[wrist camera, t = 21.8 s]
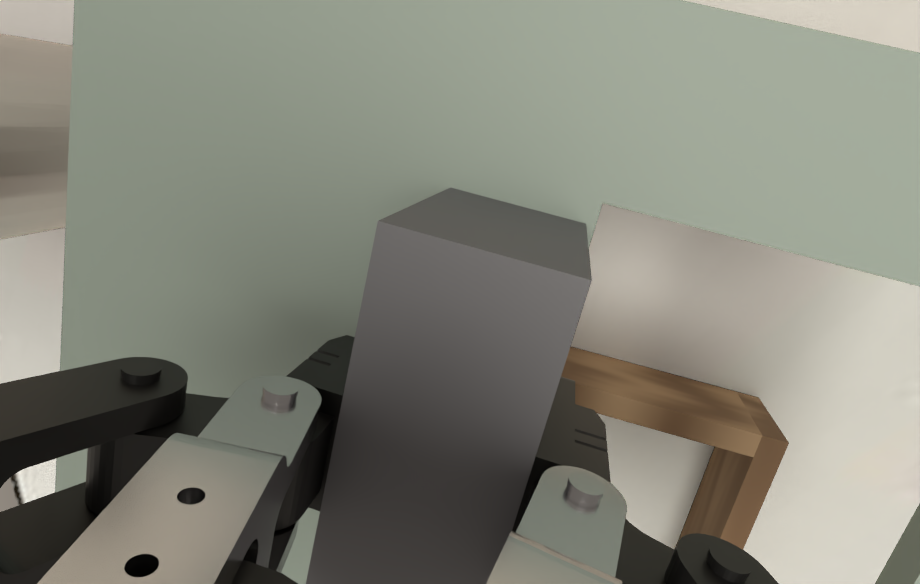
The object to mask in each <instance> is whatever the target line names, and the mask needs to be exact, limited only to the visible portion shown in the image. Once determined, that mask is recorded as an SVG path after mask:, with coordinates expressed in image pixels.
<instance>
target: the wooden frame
mask: <svg viewBox="0 0 920 584" xmlns="http://www.w3.org/2000/svg"><path fill="white" fill-rule="evenodd" d="M561 377H564V378H567V379H571V380H574V381H575V404H576V405H579V406H583V407H586V408H589V409H593V410H595V412H596V413H599V414H602V415H606V416H609V417H613V418H616V419H620V420H623V421H627V422H630V423H634V424H637V425H641V426H644V427H648V428H651V429H655V430H658V431H662V432H665V433H669V434H673V435H676V436H680V437H683V438H687V439H690V440H694V441H697V442H701V443H704V444H708V445H711V446H715V448H714V450H713V453H712V455H711V458H710V461H709V463H708V466H707V468H706V471H705V473H704V476H703V479H702V481H701V484H700V486H699V489H698V491H697V494H696V497H695V499H694V502H693V504H692V507H691V509H690V512H689V514H688V517H687V520H686V522H685V525H684V527H683V530H682V532H681V535H680V538H679V540H680V539H681V538H682V537H683V536H685V535H687V534H693V533H700V534H707V535H711V536H715V537H718V538H721V539H723V540H725V541H728V542H730V543H732V544H734V545H735V546H737V547H739V548H740V549H742V550H743V548H744V546H745V544H746V541H747V539H748V537H749V534H750V532H751V530H752V527H753V525H754V523H755V520H756V518H757V516H758V513H759V511H760V509H761V506H762V504H763V502H764V499H765V497H766V495H767V492H768V490H769V488H770V486H771V483H772V481H773V479H774V476H775V474H776V472H777V469H778V467H779V465H780V462H781V460H782V458H783V455H784V453H785V451H786V448H787V446H788V444H789V442H788V441H787V439H786V438H785V436H784V435H783V433H782V432H781V430H780V429H779V427H778V426H777V424H776V423H775V421H774V420H773V418H772V417H771V415H770V414H769V412H768V411H767V409H766V408H765V406H764V405H763V403H762V402H761V400H760V399H759V398H758V397H754V396H751V395H747V394H743V393H740V392H736V391H732V390H729V389H725V388H721V387H717V386H714V385H710V384H706V383H703V382H699V381H695V380H692V379H688V378H684V377H681V376H677V375H673V374H670V373H666V372H662V371H659V370H655V369H651V368H648V367H644V366H640V365H636V364H633V363H629V362H625V361H622V360H618V359H614V358H611V357H607V356H603V355H600V354H596V353H592V352H589V351H585V350H581V349H578V348H574V347H570V350H569V353H568V356H567V359H566V362H565V365H564V369H563V372H562V375H561ZM679 540H678V541H679ZM677 544H678V543H677ZM676 546H677V545H676Z"/></svg>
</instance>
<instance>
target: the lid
mask: <svg viewBox="0 0 920 584" xmlns="http://www.w3.org/2000/svg"><path fill="white" fill-rule="evenodd" d="M603 203H604V204H608V205H612V206H615V207H619V208H623V209H627V210H631V211H634V212H638V213H642V214H646V215H650V216H653V217H657V218H661V219H665V220H669V221H672V222H676V223H680V224H684V225H688V226H692V227H695V228H699V229H703V230H707V231H711V232H714V233H718V234H722V235H726V236H730V237H733V238H737V239H741V240H745V241H749V242H752V243H756V244H760V245H764V246H768V247H771V248H775V249H779V250H783V251H787V252H790V253H794V254H798V255H802V256H806V257H809V258H813V259H817V260H821V261H825V262H829V263H832V264H836V265H840V266H844V267H848V268H851V269H855V270H859V271H863V272H867V273H870V274H874V275H878V276H882V277H886V278H889V279H893V280H897V281H901V282H905V283H908V284H912V285H916V286H920V53H918V52H913V51H909V50H904V49H900V48H895V47H891V46H886V45H882V44H877V43H873V42H868V41H864V40H859V39H855V38H850V37H846V36H841V35H837V34H832V33H828V32H823V31H818V30H814V29H809V28H805V27H800V26H796V25H791V24H787V23H782V22H778V21H773V20H769V19H764V18H760V17H755V16H751V15H746V14H742V13H737V12H733V11H728V10H723V9H719V8H714V7H710V6H705V5H701V4H696V3H692V2H687V1H683V0H74V26H73V51H72V77H71V102H70V128H69V153H68V179H67V204H66V230H65V255H64V281H63V306H62V332H61V357H60V371H64V370H68V369H73V368H78V367H83V366H87V365H92V364H97V363H102V362H106V361H111V360H116V359H121V358H128V357H152V358H159V359H163V360H167V361H170V362H173V363H175V364H177V365H179V366H181V367H182V368H183V369H184V370H185V371H186V372H187V375H188V382H187V391H186V393H189V394H197V395H205V396H213V397H223V398H230V397H231V395H232V394H233V393H234V392H235V390H236V389H237V388H238V387H239V386H240V385H241V384H242V383H243V382H245V381H247V380H249V379H252V378H256V377H261V376H287V375H288V374H289V373H291V372H292V371H293V370H294V369H295V368H296V367H298V366H299V365H300V364H301V363H302V362H304V361H305V360H306V359H308V358H309V356H311V355H312V354H313V353H314V352H315V351H318V349H319V348H320V347H321V346H322V345H324V344H325V343H326V342H327V341H328V340H331V339H335V338H338V337H342V336H345V335H349V336H352V337H355V338H354V343H353V348H352V353H351V358H350V363H349V368H348V373H347V378H346V384H345V389H344V394H343V399H342V404H341V409H340V414H339V419H338V424H337V429H336V434H335V439H334V444H333V449H332V454H331V459H330V464H329V469H328V474H327V479H326V484H325V489H324V494H323V499H322V504H321V509H320V511H317V510H314V509H311V508H307V510H306V511H305V513H304V514H303V516H302V517H301V518H300V519H299V524H298V529H297V534H296V537H295V540H294V542H293V545H292V547H291V550H290V552H289V555H288V557H287V560H286V562H285V565H284V567H283V570H282V572H281V573H282V574H284V575H286V576H287V577H289V578H290V579H292V580H293V581H295V582H296V583H298V584H486V583H487V581H488V579H489V576H490V574H491V572H492V570H493V568H494V566H495V564H496V562H497V560H498V557H499V555H500V553H501V551H502V549H503V547H504V545H505V543H506V541H507V538H508V536H509V535H510V533H511V531H512V529H513V526H514V523H515V520H516V516H517V513H518V510H519V507H520V504H521V501H522V497H523V494H524V491H525V488H526V485H527V482H528V479H529V475H530V472H531V469H532V466H533V463H534V460H535V457H536V453H537V450H538V447H539V444H540V441H541V438H542V435H543V431H544V428H545V425H546V422H547V419H548V416H549V413H550V409H551V406H552V403H553V400H554V397H555V394H556V391H557V387H558V384H559V381H560V378H561V375H562V372H563V369H564V365H565V362H566V359H567V356H568V353H569V350H570V346H571V343H572V340H573V337H574V334H575V331H576V328H577V324H578V321H579V318H580V315H581V312H582V309H583V306H584V302H585V299H586V296H587V293H588V290H589V287H590V284H591V269H590V258H589V246H590V242H591V239H592V236H593V233H594V229H595V226H596V223H597V220H598V217H599V213H600V210H601V207H602V204H603ZM87 452H88V448H87V449H84V450H81V451H78V452H74V453H71V454H68V455H65V456H62V457H59V458H57V459H56V485H55V492H58V491H61V490H64V489H67V488H69V487H72V486H75V485H78V484H80V483H83V482H86V470H87ZM875 584H920V504H919V506H918V507H917V509H916V511H915V513H914V515H913V516H912V518H911V520H910V522H909V524H908V525H907V527H906V529H905V531H904V533H903V534H902V536H901V538H900V540H899V542H898V543H897V545H896V547H895V549H894V551H893V552H892V554H891V556H890V558H889V560H888V561H887V563H886V565H885V567H884V569H883V570H882V572H881V574H880V576H879V578H878V579H877V581H876V583H875Z"/></svg>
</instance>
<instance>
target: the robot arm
mask: <svg viewBox="0 0 920 584" xmlns="http://www.w3.org/2000/svg"><path fill="white" fill-rule="evenodd" d="M72 51H73V46H72V45H66V44H60V43H54V42H48V41H42V40H36V39H30V38H24V37H18V36H12V35H6V34H0V240H1V239H7V238H12V237H17V236H23V235H28V234H33V233H39V232H44V231H49V230H55V229H60V228H65V227H66V204H67V179H68V153H69V128H70V102H71V77H72ZM354 338H355V337H352V336H349V335H345V336H342V337H338V338H335V339H331V340H328V341H327V342H326V343H325V344H324V345H322V346H321V347H320V348H319V349H318V351H315V352H314V353H313V354H312V355H311V356H309V358H308V359H306V360H305V361H304V362H302V363H301V364H300V365H299V366H298V367H296V368H295V369H294V370H293V371H292V372H291V373H289V374H288V375H287V376H261V377H256V378H252V379H249V380H247V381H245V382H243V383H242V384H241V385H240V386H239V387H238V388H237V389H236V390H235V392H234V393H233V394H232V395H231V397H230V398H223V397H213V396H205V395H197V394H189V393H186V391H187V382H188V375H187V372H186V371H185V370H184V369H183V368H182V367H181V366H179V365H177V364H175V363H173V362H170V361H167V360H163V359H159V358H152V357H128V358H121V359H116V360H111V361H106V362H102V363H97V364H92V365H87V366H83V367H78V368H73V369H68V370H64V371H59V372H54V373H49V374H45V375H40V376H35V377H30V378H26V379H21V380H16V381H11V382H7V383H2V384H0V488H1V486H2V485H3V484H4V482H6V481H7V479H9V478H10V477H11V476H12V475H14V474H15V473H17V472H18V471H20V470H22V469H25V468H27V467H30V466H33V465H36V464H40V463H43V462H46V461H49V460H52V459H55V458H59V457H62V456H65V455H68V454H71V453H74V452H78V451H81V450H84V449H87V448H88V452H87V470H86V482H83V483H80V484H78V485H75V486H72V487H69V488H67V489H64V490H61V491H58V492H55V493H53V494H50V495H47V496H44V497H41V498H39V499H36V500H33V501H30V502H27V503H25V504H22V505H19V506H16V507H14V508H11V509H8V510H5V511H2V512H0V584H298V583H296V582H295V581H293V580H292V579H290V578H289V577H287V576H286V575H284V574H282V573H281V572H282V570H283V567H284V565H285V562H286V560H287V557H288V555H289V552H290V550H291V547H292V545H293V542H294V540H295V537H296V534H297V529H298V524H299V519H300V518H301V517H302V516H303V514H304V513H305V511H306V510H307V508H311V509H314V510H317V511H320V509H321V504H322V499H323V494H324V489H325V484H326V479H327V474H328V469H329V464H330V459H331V454H332V449H333V444H334V439H335V434H336V429H337V424H338V419H339V414H340V409H341V404H342V399H343V394H344V389H345V384H346V378H347V373H348V368H349V363H350V358H351V353H352V348H353V343H354ZM626 512H627V505H626V501H625V499H624V497H623V496H622V494H621V493H620V492H619V491H618V490H617V489H616V488H615V487H614V486H613V485H612V484H611V483H610V472H609V461H608V452H607V441H606V429H605V424H604V423H603V421H602V420H601V419H600V417H599V416H598V414H597V413H596V412H595V410H593V409H589V408H586V407H583V406H579V405H576V404H575V381H574V380H571V379H567V378H564V377H561V378H560V381H559V384H558V387H557V391H556V394H555V397H554V400H553V403H552V406H551V409H550V413H549V416H548V419H547V422H546V425H545V428H544V431H543V435H542V438H541V441H540V444H539V447H538V450H537V453H536V457H535V460H534V463H533V466H532V469H531V472H530V475H529V479H528V482H527V485H526V488H525V491H524V494H523V497H522V501H521V504H520V507H519V510H518V513H517V516H516V520H515V523H514V526H513V529H512V531H511V533H510V535H509V536H508V538H507V541H506V543H505V545H504V547H503V549H502V551H501V553H500V555H499V557H498V560H497V562H496V564H495V566H494V568H493V570H492V572H491V574H490V576H489V579H488V581H487V583H486V584H778V583H777V581H776V580H775V579H774V578H773V577H772V576H771V575H770V574H769V572H768V571H767V570H766V569H765V568H764V567H763V566H762V565H761V564H760V563H759V562H758V561H757V560H756V559H754V558H753V557H752V556H751V555H749V554H748V553H747V552H745V551H744V550H742V549H740V548H739V547H737V546H735V545H734V544H732V543H730V542H728V541H725V540H723V539H721V538H718V537H715V536H711V535H707V534H700V533H693V534H687V535H685V536H683V537H682V538H681V539H680V540H679V541H678V544H677V546H676V548H675V550H674V549H672V548H670V547H668V546H666V545H664V544H662V543H660V542H659V541H657V540H655V539H653V538H651V537H649V536H648V535H646V534H644V533H643V532H641V531H640V530H638V529H637V528H636V527H634V526H633V525H632V524H631V523H629V522H628V521H627V520H626V519H625V518H626Z"/></svg>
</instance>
